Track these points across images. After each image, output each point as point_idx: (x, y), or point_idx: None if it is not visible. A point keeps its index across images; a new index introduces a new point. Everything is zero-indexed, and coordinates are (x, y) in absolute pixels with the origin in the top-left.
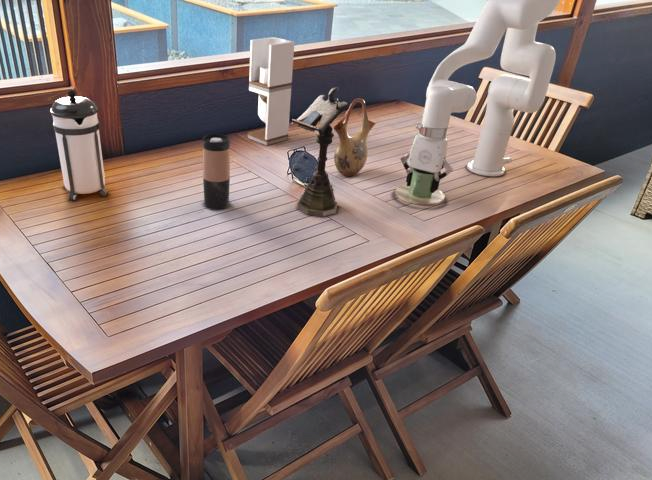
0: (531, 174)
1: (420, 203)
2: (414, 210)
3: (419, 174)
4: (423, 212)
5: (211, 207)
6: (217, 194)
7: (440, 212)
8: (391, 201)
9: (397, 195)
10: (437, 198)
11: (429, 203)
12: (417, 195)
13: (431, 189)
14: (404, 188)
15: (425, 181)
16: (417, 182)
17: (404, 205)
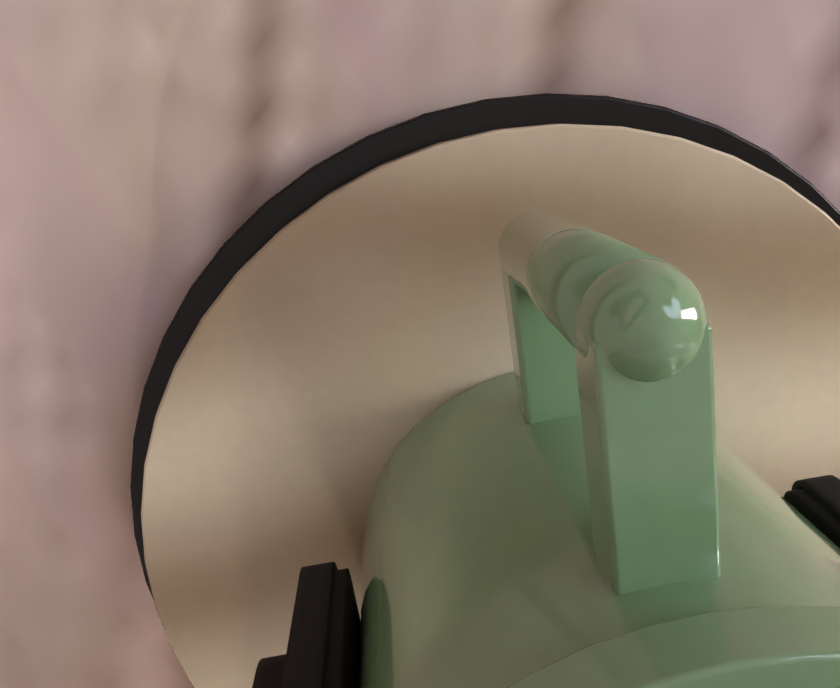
0: None
1: (328, 195)
2: (335, 27)
3: (758, 639)
4: (186, 77)
5: None
6: None
7: (14, 301)
8: (803, 52)
9: (809, 205)
10: (246, 580)
11: (210, 307)
12: (512, 383)
13: (334, 600)
14: None
15: (472, 604)
16: (581, 290)
17: (563, 80)
